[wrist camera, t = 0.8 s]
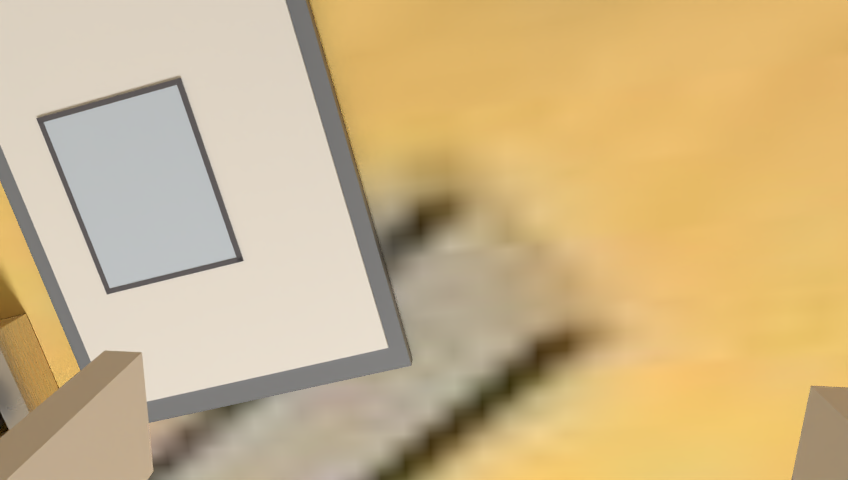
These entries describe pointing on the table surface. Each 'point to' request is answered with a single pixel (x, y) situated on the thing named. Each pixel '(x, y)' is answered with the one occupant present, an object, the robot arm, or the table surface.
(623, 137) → the table surface
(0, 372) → the button housing
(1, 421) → the button
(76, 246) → the sheet
